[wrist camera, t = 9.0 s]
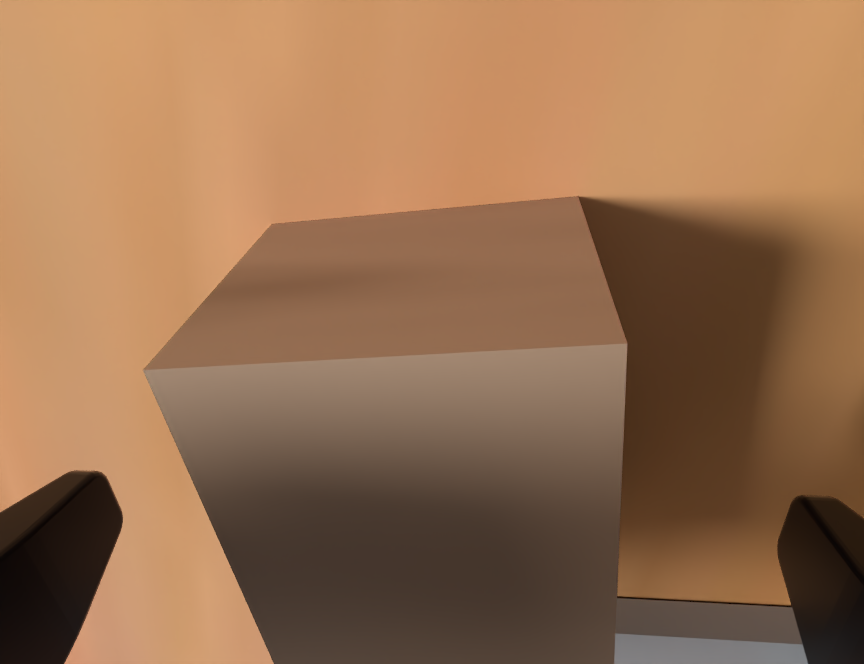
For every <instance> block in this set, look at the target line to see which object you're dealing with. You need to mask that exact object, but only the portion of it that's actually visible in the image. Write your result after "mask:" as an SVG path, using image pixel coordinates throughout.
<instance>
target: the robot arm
mask: <svg viewBox="0 0 864 664" xmlns="http://www.w3.org/2000/svg"><path fill="white" fill-rule="evenodd" d="M122 523H123V515H122V511H121V508H120V506H119V504H118V501H117V499H116V497H115V495H114V492H113V490H112V488H111V486H110V483H109V481H108V479H107V477H106V476H105V475H104V474H103V473H102V472H98V471H78V470H76V471H71V472H68V473H66V474H64V475H62V476H61V477H59V478H57V479H56V480H54V481H52V482H51V483H49V484H47V485H46V486H44V487H42V488H41V489H39V490H37V491H36V492H34V493H32V494H31V495H29V496H27V497H26V498H24V499H22V500H20V501H19V502H17V503H15V504H14V505H12V506H10V507H9V508H7V509H5V510H4V511H2V512H0V664H64V663H65V661H66V659H67V657H68V655H69V653H70V651H71V649H72V647H73V645H74V643H75V641H76V639H77V637H78V635H79V632H80V630H81V628H82V625H83V623H84V621H85V619H86V616H87V614H88V611H89V609H90V606H91V604H92V601H93V599H94V596H95V594H96V591H97V589H98V586H99V584H100V581H101V579H102V576H103V574H104V571H105V569H106V566H107V564H108V562H109V559H110V557H111V554H112V552H113V549H114V547H115V544H116V542H117V539H118V537H119V534H120V532H121V528H122ZM777 551H778V558H779V563H780V566H781V570H782V573H783V577H784V580H785V584H786V588H787V591H788V595H789V598H790V602H791V605H792V609H793V612H794V616H795V620H796V623H797V627H798V630H799V634H800V637H801V641H802V644H803V648H804V652H805V655H806V659H807V662H808V664H864V518H862V517H861V516H860V515H858V514H857V513H856V512H854V511H853V510H852V509H850V508H849V507H848V506H846V505H845V504H844V503H842V502H841V501H839V500H838V499H836V498H834V497H830V496H812V495H800V496H797V497H796V498H795V499H793V501H792V503H791V505H790V508H789V511H788V513H787V516H786V519H785V522H784V525H783V527H782V530H781V533H780V536H779V539H778V545H777Z"/></svg>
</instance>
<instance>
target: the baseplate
mask: <svg viewBox="0 0 864 664" xmlns="http://www.w3.org/2000/svg"><path fill="white" fill-rule="evenodd" d="M614 664H808V662H807V659H806V655H805V652H804V648H803V644H802V641H801V637H800V634H799V630H798V627H797V623H796V620H795V616H794V612H793V609H792V607H776V606H757V605H738V604H720V603H701V602H682V601H663V600H644V599H625V598H617V606H616V630H615V655H614Z"/></svg>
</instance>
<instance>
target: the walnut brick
mask: <svg viewBox="0 0 864 664" xmlns="http://www.w3.org/2000/svg"><path fill="white" fill-rule="evenodd" d="M626 365H627V341H626V338H625V335H624V332H623V329H622V326H621V323H620V320H619V317H618V314H617V311H616V308H615V305H614V302H613V299H612V296H611V293H610V290H609V287H608V284H607V281H606V278H605V275H604V272H603V269H602V266H601V263H600V260H599V257H598V254H597V251H596V248H595V245H594V242H593V239H592V236H591V233H590V230H589V227H588V224H587V221H586V218H585V215H584V212H583V209H582V206H581V203H580V200H579V197H578V196H576V197H565V198H554V199H543V200H532V201H521V202H510V203H499V204H488V205H476V206H465V207H454V208H443V209H432V210H421V211H410V212H399V213H388V214H377V215H366V216H355V217H344V218H333V219H322V220H311V221H300V222H289V223H278V224H272V225H271V226H270V227H269V228H268V229H267V230H266V231H265V232H264V234H263V235H262V236H261V237H260V238H259V239H258V240H257V242H256V243H255V244H254V245H253V246H252V247H251V248H250V249H249V251H248V252H247V253H246V254H245V255H244V256H243V257H242V259H241V260H240V261H239V262H238V263H237V264H236V265H235V266H234V268H233V269H232V270H231V271H230V272H229V273H228V274H227V276H226V277H225V278H224V279H223V280H222V281H221V282H220V283H219V285H218V286H217V287H216V288H215V289H214V290H213V291H212V293H211V294H210V295H209V296H208V297H207V298H206V299H205V300H204V302H203V303H202V304H201V305H200V306H199V307H198V308H197V310H196V311H195V312H194V313H193V314H192V315H191V316H190V317H189V319H188V320H187V321H186V322H185V323H184V324H183V325H182V327H181V328H180V329H179V330H178V331H177V332H176V333H175V334H174V336H173V337H172V338H171V339H170V340H169V341H168V342H167V344H166V345H165V346H164V347H163V348H162V349H161V350H160V351H159V353H158V354H157V355H156V356H155V357H154V358H153V359H152V361H151V362H150V363H149V364H148V365H147V366H146V367H145V368H144V370H143V371H144V373H145V376H146V378H147V380H148V382H149V385H150V387H151V389H152V391H153V394H154V396H155V398H156V400H157V403H158V405H159V407H160V409H161V411H162V414H163V416H164V418H165V420H166V423H167V425H168V427H169V429H170V432H171V434H172V436H173V438H174V441H175V443H176V445H177V447H178V450H179V452H180V454H181V456H182V459H183V461H184V463H185V465H186V467H187V470H188V472H189V474H190V476H191V479H192V481H193V483H194V485H195V488H196V490H197V492H198V494H199V497H200V499H201V501H202V503H203V506H204V508H205V510H206V512H207V515H208V517H209V519H210V521H211V523H212V526H213V528H214V530H215V532H216V535H217V537H218V539H219V541H220V544H221V546H222V548H223V550H224V553H225V555H226V557H227V559H228V562H229V564H230V566H231V568H232V571H233V573H234V575H235V577H236V579H237V582H238V584H239V586H240V588H241V591H242V593H243V595H244V597H245V600H246V602H247V604H248V606H249V609H250V611H251V613H252V615H253V618H254V620H255V622H256V624H257V627H258V629H259V631H260V633H261V635H262V638H263V640H264V642H265V644H266V647H267V649H268V651H269V653H270V656H271V658H272V660H273V662H274V664H614V655H615V630H616V606H617V582H618V558H619V534H620V510H621V486H622V462H623V438H624V414H625V389H626Z"/></svg>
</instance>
